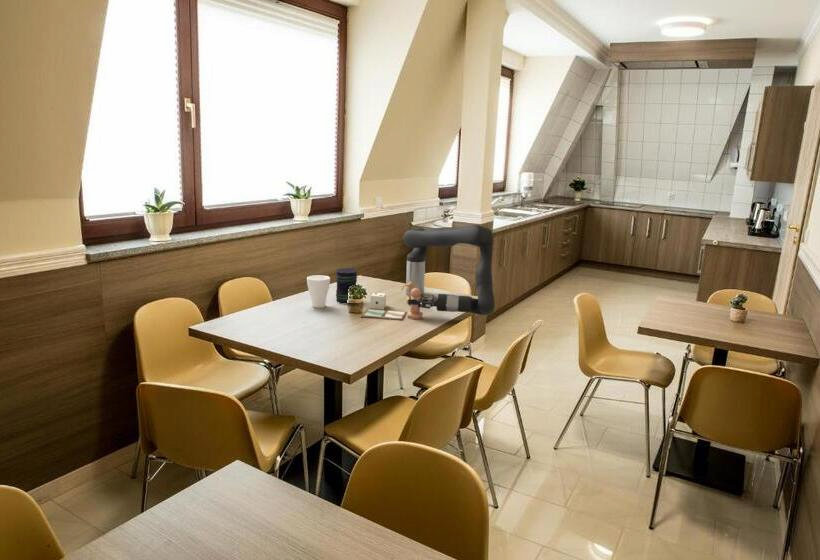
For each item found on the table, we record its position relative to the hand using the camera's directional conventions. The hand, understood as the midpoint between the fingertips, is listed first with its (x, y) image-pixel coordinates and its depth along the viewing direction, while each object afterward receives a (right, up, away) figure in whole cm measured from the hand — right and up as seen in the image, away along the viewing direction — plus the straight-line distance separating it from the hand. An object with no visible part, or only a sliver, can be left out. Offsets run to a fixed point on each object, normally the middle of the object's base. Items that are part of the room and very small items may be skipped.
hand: (409, 300), depth 259 cm
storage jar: (-30, -1, +25) cm, 39 cm away
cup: (-42, -3, +15) cm, 44 cm away
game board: (-11, -7, +3) cm, 13 cm away
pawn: (+3, -7, +1) cm, 8 cm away
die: (-14, -4, +16) cm, 22 cm away
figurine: (+1, -3, +20) cm, 21 cm away
